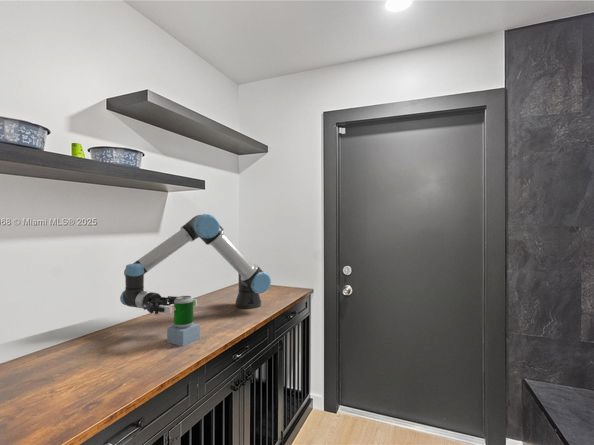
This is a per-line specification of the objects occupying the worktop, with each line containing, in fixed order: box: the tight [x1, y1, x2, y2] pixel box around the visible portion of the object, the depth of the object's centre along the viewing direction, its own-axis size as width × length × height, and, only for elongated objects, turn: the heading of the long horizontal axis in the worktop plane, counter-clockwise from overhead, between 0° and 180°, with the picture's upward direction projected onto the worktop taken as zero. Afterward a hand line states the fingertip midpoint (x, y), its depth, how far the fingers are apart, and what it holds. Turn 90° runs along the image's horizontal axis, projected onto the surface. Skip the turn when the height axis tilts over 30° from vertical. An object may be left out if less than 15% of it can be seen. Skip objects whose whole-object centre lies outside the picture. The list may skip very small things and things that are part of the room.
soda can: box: [173, 295, 194, 328], centre depth 131 cm, size 8×8×12 cm
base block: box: [166, 322, 201, 347], centre depth 131 cm, size 9×9×6 cm
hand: (184, 306), depth 131 cm, fingers open, 13 cm apart
